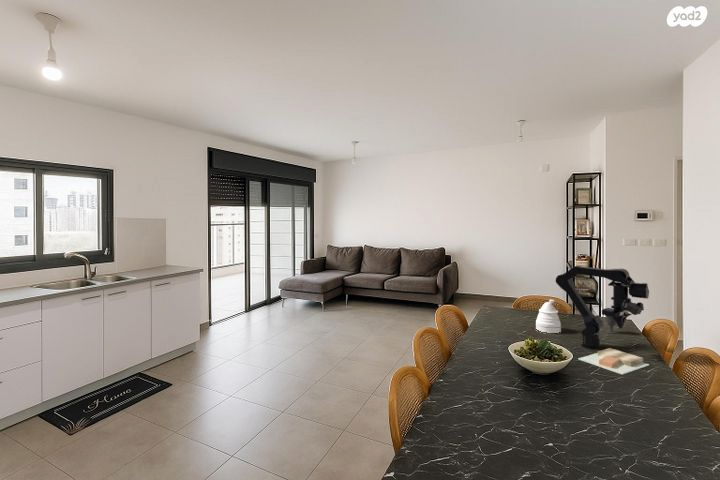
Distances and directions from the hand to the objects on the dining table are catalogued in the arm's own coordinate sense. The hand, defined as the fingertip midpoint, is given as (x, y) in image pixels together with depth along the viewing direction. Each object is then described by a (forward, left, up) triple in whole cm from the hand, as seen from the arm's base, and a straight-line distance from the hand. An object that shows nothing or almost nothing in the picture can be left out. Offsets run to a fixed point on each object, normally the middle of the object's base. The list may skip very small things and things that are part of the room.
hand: (620, 328), depth 171 cm
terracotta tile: (+6, -18, -12) cm, 22 cm away
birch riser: (+5, -9, -12) cm, 16 cm away
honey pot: (-40, +1, -12) cm, 42 cm away
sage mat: (+5, -14, -12) cm, 19 cm away
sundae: (-20, +26, -12) cm, 35 cm away
